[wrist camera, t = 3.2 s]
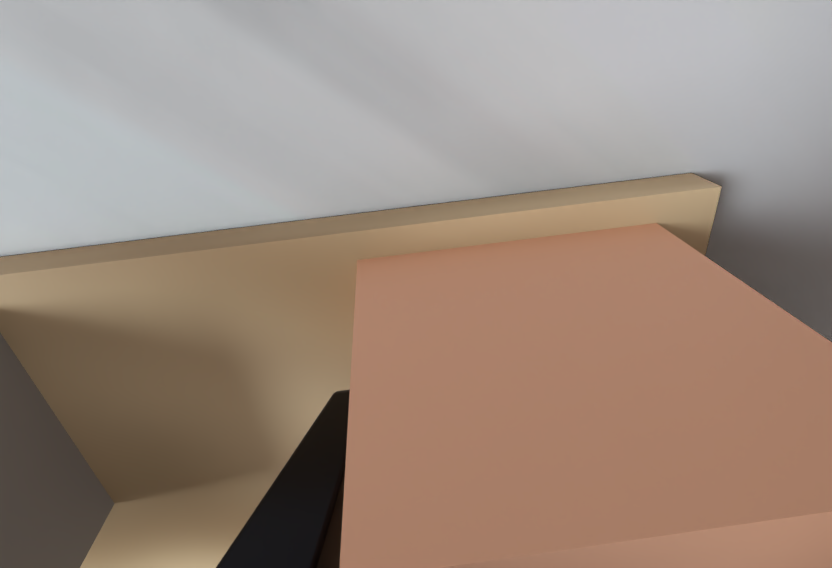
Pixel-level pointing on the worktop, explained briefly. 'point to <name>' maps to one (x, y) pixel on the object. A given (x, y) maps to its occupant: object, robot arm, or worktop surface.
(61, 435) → the grey block
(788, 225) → the worktop surface
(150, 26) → the worktop surface
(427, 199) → the worktop surface
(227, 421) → the oak board
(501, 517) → the terracotta block
